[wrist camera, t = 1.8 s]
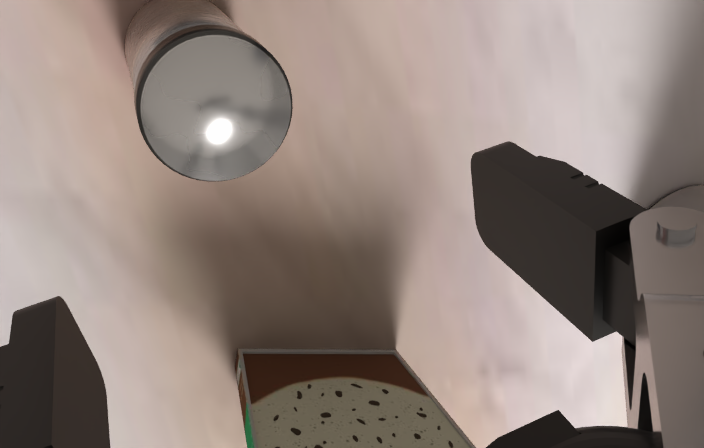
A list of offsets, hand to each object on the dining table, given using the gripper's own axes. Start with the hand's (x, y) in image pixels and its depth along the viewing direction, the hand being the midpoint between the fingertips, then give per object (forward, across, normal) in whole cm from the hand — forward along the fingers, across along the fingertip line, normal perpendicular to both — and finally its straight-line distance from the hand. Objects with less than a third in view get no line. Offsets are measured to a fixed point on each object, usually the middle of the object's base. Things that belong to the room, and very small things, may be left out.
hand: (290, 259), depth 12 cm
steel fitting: (+16, 0, 0) cm, 16 cm away
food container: (+17, -1, +20) cm, 26 cm away
